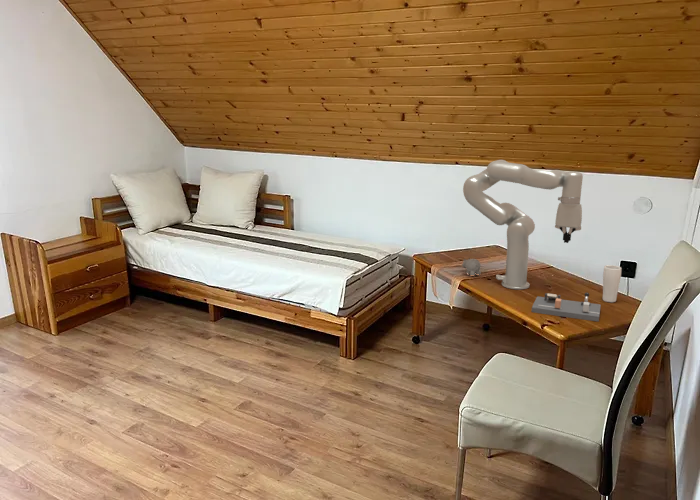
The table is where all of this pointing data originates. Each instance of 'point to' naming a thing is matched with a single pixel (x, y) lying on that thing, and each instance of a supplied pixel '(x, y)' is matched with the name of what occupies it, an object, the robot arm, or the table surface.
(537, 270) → the table surface
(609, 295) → the drinking glass
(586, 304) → the slide paddle
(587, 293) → the toggle lever
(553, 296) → the rocker switch
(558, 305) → the slide paddle
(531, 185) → the robot arm
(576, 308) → the switch panel
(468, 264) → the toy rhinoceros
